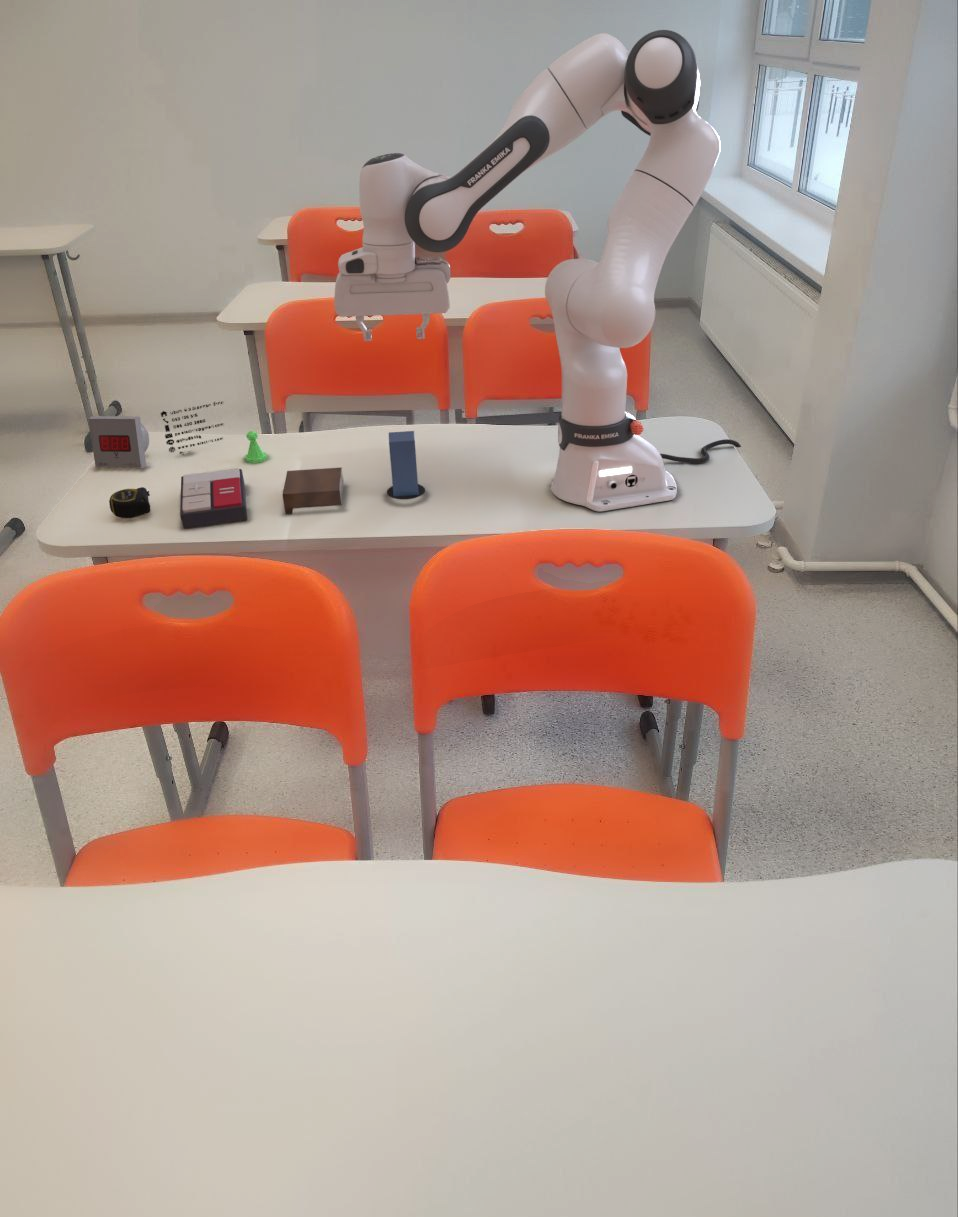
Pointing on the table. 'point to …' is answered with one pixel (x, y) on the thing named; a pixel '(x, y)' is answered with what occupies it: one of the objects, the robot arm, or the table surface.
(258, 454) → the game piece
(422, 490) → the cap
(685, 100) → the robot arm
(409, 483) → the block
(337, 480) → the stand
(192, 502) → the calculator
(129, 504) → the tape measure
